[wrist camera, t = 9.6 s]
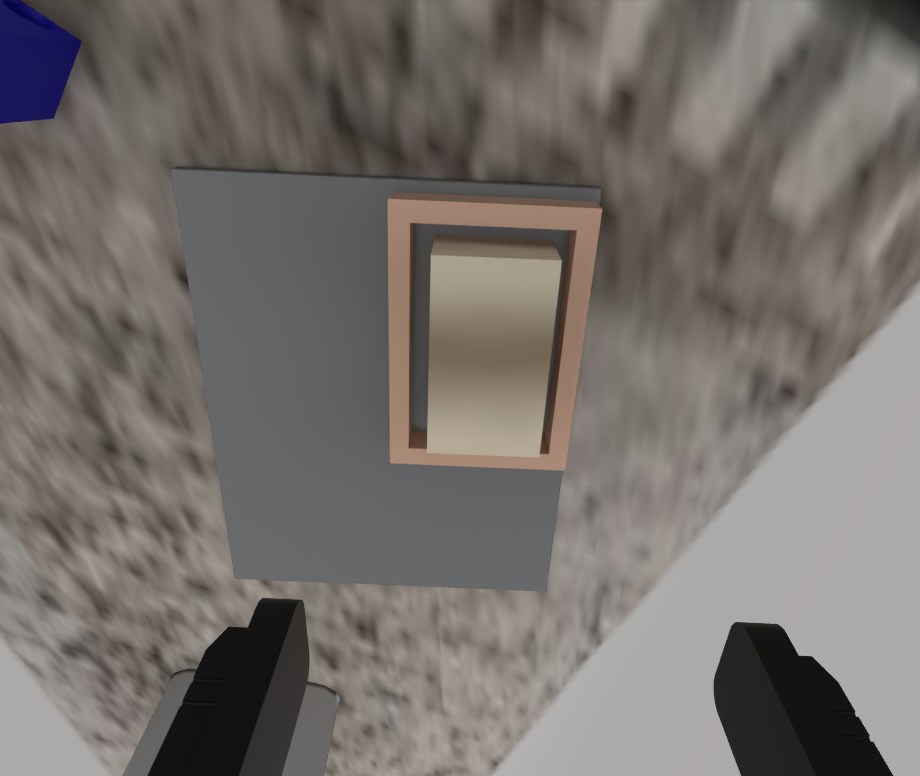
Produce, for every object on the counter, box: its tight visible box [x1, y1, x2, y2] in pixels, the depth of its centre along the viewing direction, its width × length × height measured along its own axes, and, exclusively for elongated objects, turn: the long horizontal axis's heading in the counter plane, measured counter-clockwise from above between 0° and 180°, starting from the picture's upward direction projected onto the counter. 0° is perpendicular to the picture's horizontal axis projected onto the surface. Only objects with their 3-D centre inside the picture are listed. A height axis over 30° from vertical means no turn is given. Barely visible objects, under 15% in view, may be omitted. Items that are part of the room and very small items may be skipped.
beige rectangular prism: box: [427, 235, 562, 458], centre depth 24 cm, size 8×4×3 cm, turn 178°
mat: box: [171, 167, 602, 591], centre depth 28 cm, size 20×16×1 cm
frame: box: [388, 192, 602, 471], centre depth 25 cm, size 11×8×2 cm
